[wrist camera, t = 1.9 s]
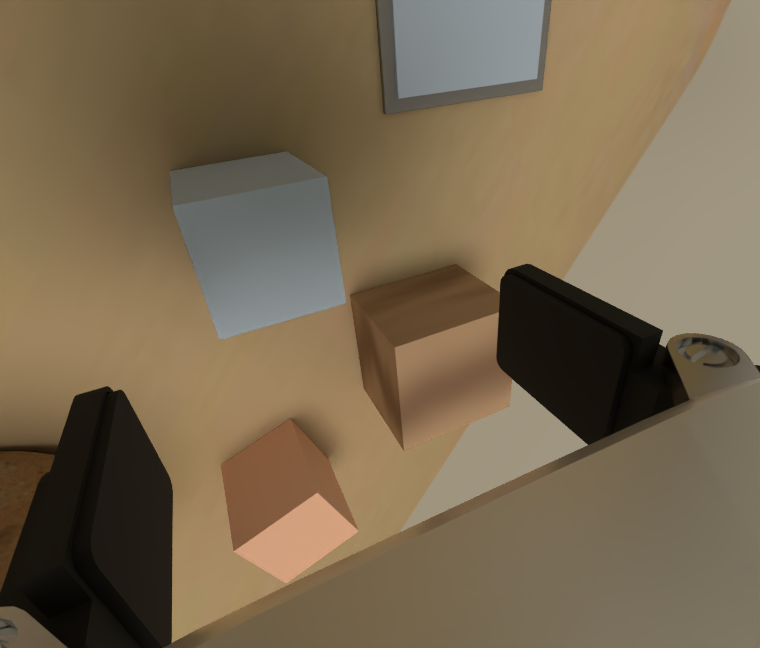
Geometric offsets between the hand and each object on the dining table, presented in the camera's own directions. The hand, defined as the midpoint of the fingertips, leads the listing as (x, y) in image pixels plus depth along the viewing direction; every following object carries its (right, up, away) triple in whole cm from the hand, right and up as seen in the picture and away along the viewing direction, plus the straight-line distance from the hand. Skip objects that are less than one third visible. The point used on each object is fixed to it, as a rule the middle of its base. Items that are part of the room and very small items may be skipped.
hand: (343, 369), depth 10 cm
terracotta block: (-6, -8, +17) cm, 20 cm away
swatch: (+5, +16, +9) cm, 19 cm away
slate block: (-5, +6, +9) cm, 12 cm away
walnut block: (+3, +1, +17) cm, 17 cm away
